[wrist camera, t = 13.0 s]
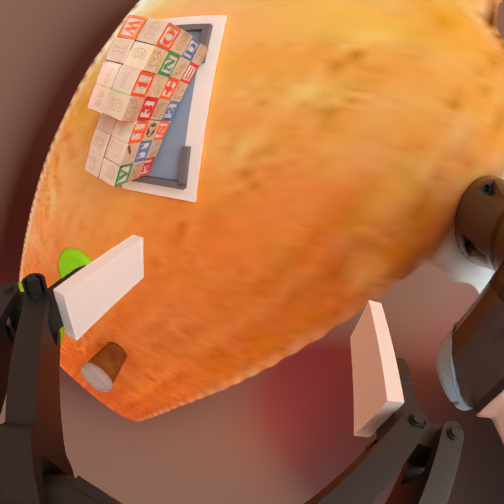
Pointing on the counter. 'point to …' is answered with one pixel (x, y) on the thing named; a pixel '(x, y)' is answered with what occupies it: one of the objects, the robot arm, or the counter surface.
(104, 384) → the disposable coffee cup
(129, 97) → the stack of blocks
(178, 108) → the blueprint board
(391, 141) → the counter surface
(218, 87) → the counter surface
